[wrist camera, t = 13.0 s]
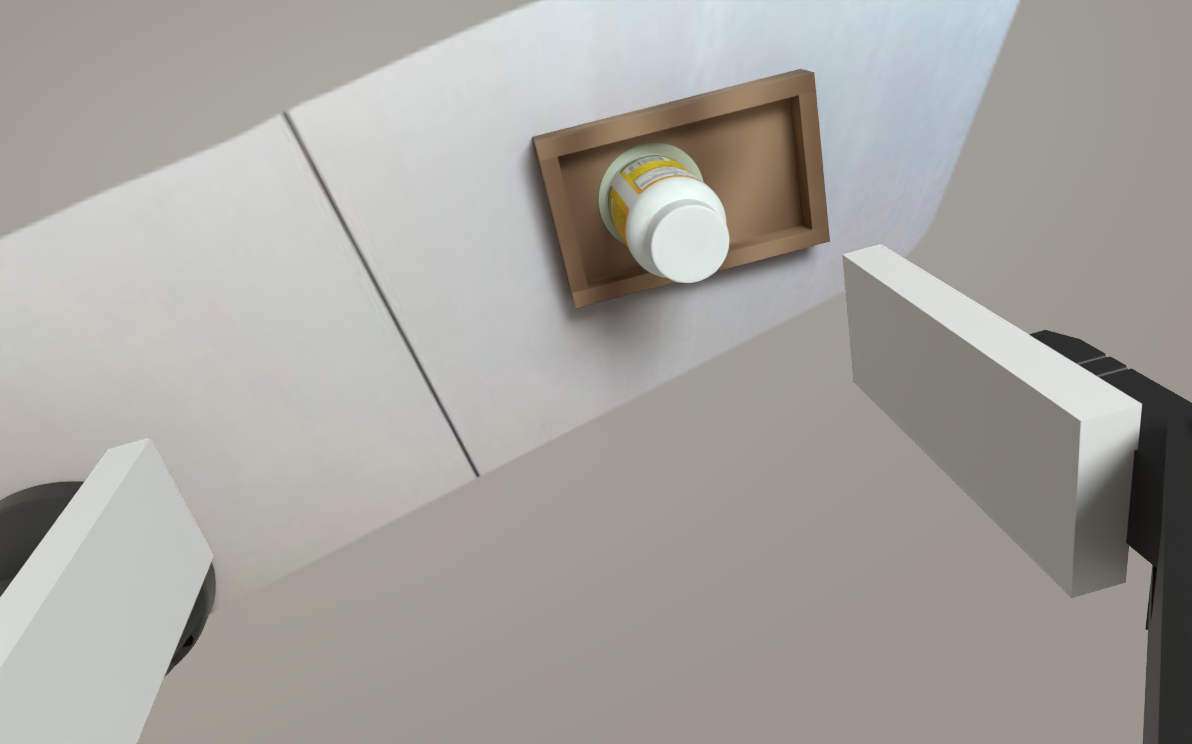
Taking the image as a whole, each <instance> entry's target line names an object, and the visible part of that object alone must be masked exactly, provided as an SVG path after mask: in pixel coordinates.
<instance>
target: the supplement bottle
mask: <svg viewBox="0 0 1192 744" xmlns="http://www.w3.org/2000/svg"><path fill="white" fill-rule="evenodd" d="M607 207H608V213H609V216H610V219H611V221H612V223H613V225H614V227H615V228H616V230H617V232H618V233H619V235H620V236H621V238H622V239H623V241H624V243H625V244H626V246H627V247H628V249H629V251H630V252H631V254H632V255H633V257H634V258H635V260H636V261H637V262H638V263H639V264H640V265H641V266H642V267H643V268H644V269H645V270H647V271H649V272H650V273H652V274H654V275H657V276H660V277H664V278H668V279H670V280H673V281H675V282H680V283H694V282H699V281H701V280H704V279H706V278H708V277H709V276H711V275H712V274H713V273H715V272H716V271H717V270H718V269H719V267H720V266H721V265H722V263H723V262H724V260H725V258H726V256H727V253H728V249H729V232H728V229H727V226H726V215H725V211H724V207H723V205H722V203H721V201H720V199H719V198H718V196H717V195H716V194H715V193H714V191H713V190H712V189H711V188H710V187H708V186H707V185H706V184H705V183H704V182H702V181H701V180H700V179H699V178H698V177H696V176H695V175H694V174H693V173H691V172H690V171H689V170H688V169H687V168H686V167H684V166H683V165H682V164H681V163H679V162H678V161H676V160H675V159H673V158H671V157H668V156H665V155H660V154H647V155H642V156H639V157H636V158H634V159H632V160H630V161H629V162H627V163H626V164H624V165H623V166H622V167H621V168H620V169H619V170H618V172H617V173H616V174H615V176H614V177H613V179H612V181H611V183H610V186H609V189H608V194H607Z"/></svg>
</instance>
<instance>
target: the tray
mask: <svg viewBox="0 0 1192 744" xmlns="http://www.w3.org/2000/svg"><path fill="white" fill-rule="evenodd" d="M533 142H534V146H535V150H536V154H537V158H538V162H539V166H540V170H541V174H542V178H543V182H544V186H545V190H546V194H547V198H548V202H549V206H550V211H551V215H552V219H553V223H554V227H555V231H556V235H557V239H558V243H559V247H560V251H561V255H562V259H563V263H564V267H565V271H566V275H567V279H568V284H569V288H570V292H571V296H572V299H573V301H574V304H575V307H576V308H580V307H584V306H587V305H591V304H595V303H599V302H603V301H606V300H610V299H614V298H618V297H621V296H625V295H629V294H633V293H637V292H640V291H644V290H648V289H652V288H655V287H659V286H663V285H667V284H671V283H674V282H675V281H673V280H670V279H668V278H664V277H660V276H657V275H654V274H652V273H650V272H649V271H647V270H645V269H644V268H643V267H642V266H641V265H640V264H639V263H638V262H637V261H636V260H635V258H634V257H633V255H632V254H631V252H630V251H629V249H628V247H627V246H626V244H625V243H624V241H623V239H622V238H621V236H620V235H619V233H618V232H617V230H616V228H615V227H614V225H613V223H612V221H611V219H610V216H609V213H608V207H607V194H608V189H609V186H610V183H611V181H612V179H613V177H614V176H615V174H616V173H617V172H618V170H619V169H620V168H621V167H622V166H623V165H624V164H626V163H627V162H629V161H630V160H632V159H634V158H636V157H639V156H642V155H647V154H660V155H665V156H668V157H671V158H673V159H675V160H676V161H678V162H679V163H681V164H682V165H683V166H684V167H686V168H687V169H688V170H689V171H690V172H691V173H693V174H694V175H695V176H696V177H698V178H699V179H700V180H701V181H702V182H704V183H705V184H706V185H707V186H708V187H710V188H711V189H712V190H713V191H714V193H715V194H716V195H717V196H718V198H719V199H720V201H721V203H722V205H723V207H724V211H725V215H726V226H727V229H728V232H729V249H728V253H727V256H726V258H725V260H724V262H723V263H722V265H721V266H720V267H719V269H718V270H717V271H720V270H724V269H727V268H731V267H735V266H739V265H743V264H746V263H750V262H754V261H758V260H761V259H765V258H769V257H773V256H777V255H780V254H784V253H788V252H792V251H796V250H799V249H803V248H807V247H811V246H814V245H818V244H822V243H826V242H830V238H829V227H828V216H827V206H826V195H825V184H824V173H823V162H822V152H821V141H820V130H819V119H818V109H817V98H816V87H815V76H814V72H810V71H806V70H802V69H799V70H795V71H791V72H787V73H783V74H779V75H775V76H771V77H767V78H763V79H759V80H756V81H752V82H748V83H744V84H740V85H736V86H732V87H728V88H724V89H720V90H716V91H712V92H708V93H704V94H700V95H696V96H692V97H688V98H685V99H681V100H677V101H673V102H669V103H665V104H661V105H657V106H653V107H649V108H645V109H641V110H637V111H633V112H629V113H625V114H621V115H617V116H613V117H610V118H606V119H602V120H598V121H594V122H590V123H586V124H582V125H578V126H574V127H570V128H566V129H562V130H558V131H554V132H550V133H546V134H542V135H539V136H535V137H533Z"/></svg>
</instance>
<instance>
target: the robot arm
mask: <svg viewBox="0 0 1192 744" xmlns="http://www.w3.org/2000/svg"><path fill="white" fill-rule="evenodd" d="M843 267H844V278H845V290H846V301H847V313H848V325H849V336H850V347H851V359H852V371H853V381H854V383H855V384H856V385H857V386H858V387H859V388H860V389H861V390H863V392H864V393H865V394H866V395H867V396H868V397H869V398H870V399H871V400H872V401H874V403H876V405H877V406H879V407H880V409H882V410H883V411H884V412H885V413H886V414H887V415H888V416H889V417H890V418H891V419H892V420H893V421H894V422H895V423H896V424H897V425H898V426H899V427H900V428H901V429H902V430H903V431H904V432H905V433H906V434H907V435H908V436H909V437H910V438H911V439H912V440H913V441H914V442H915V443H916V444H917V445H918V446H919V447H920V448H921V449H922V450H923V451H924V452H925V453H926V454H927V455H928V456H929V457H930V458H931V459H932V460H933V461H934V462H935V463H936V464H937V465H938V466H939V467H940V468H941V469H942V470H943V471H944V472H945V473H946V474H947V475H948V476H949V477H950V478H951V479H952V480H953V481H954V482H955V483H956V484H957V485H958V486H959V487H960V488H961V489H962V490H963V491H964V492H965V493H966V494H967V495H968V496H969V497H970V498H971V499H972V500H973V501H974V502H975V503H976V504H977V505H978V506H979V507H980V508H981V509H982V510H983V511H984V512H985V513H986V514H987V515H988V516H989V517H990V518H991V519H992V520H993V521H994V522H995V523H996V524H997V525H998V526H999V527H1000V528H1001V529H1002V530H1003V531H1004V532H1005V533H1006V534H1007V535H1008V536H1009V537H1010V538H1011V539H1012V540H1013V541H1014V542H1016V544H1017V545H1018V546H1020V548H1021V549H1022V550H1023V551H1024V552H1025V553H1026V554H1028V555H1029V557H1030V558H1031V559H1032V560H1033V561H1034V562H1035V563H1036V564H1038V565H1039V566H1040V567H1041V569H1043V570H1044V572H1046V574H1047V575H1049V576H1050V577H1051V579H1053V581H1054V582H1056V584H1058V585H1059V586H1060V587H1061V588H1062V589H1063V590H1064V591H1065V592H1066V593H1067V594H1068V595H1069V596H1070V597H1071V598H1073V597H1076V596H1080V595H1084V594H1087V593H1090V592H1094V591H1097V590H1101V589H1104V588H1108V587H1111V586H1115V585H1118V584H1122V583H1125V582H1126V572H1127V562H1128V551H1129V546H1131V547H1132V548H1133V549H1134V550H1135V551H1137V552H1138V553H1139V554H1140V555H1141V556H1143V557H1144V558H1145V559H1146V560H1147V561H1149V562H1150V563H1151V564H1152V565H1153V566H1152V575H1151V585H1150V593H1149V603H1148V612H1147V621H1146V630H1148V645H1147V667H1146V687H1145V708H1144V729H1143V744H1192V403H1191V402H1189V401H1188V400H1186V399H1184V398H1182V397H1181V396H1179V395H1177V394H1175V393H1174V392H1172V391H1170V390H1168V389H1166V388H1165V387H1163V386H1161V385H1160V384H1158V383H1156V382H1154V381H1152V380H1150V379H1149V378H1147V377H1145V376H1144V375H1142V374H1140V373H1138V372H1137V371H1135V370H1133V369H1127V368H1126V365H1124V364H1123V363H1121V362H1119V361H1117V360H1116V359H1114V358H1112V357H1106V355H1105V353H1103V352H1101V351H1100V350H1098V349H1096V348H1095V347H1093V346H1091V345H1089V344H1087V343H1085V342H1084V341H1082V340H1080V339H1077V338H1074V337H1070V336H1066V335H1062V334H1059V333H1055V332H1051V331H1048V330H1043V331H1040V332H1037V333H1032V334H1029V335H1028V334H1027V333H1025V332H1024V331H1022V330H1020V329H1019V328H1017V327H1015V326H1014V325H1012V324H1010V323H1009V322H1007V321H1006V320H1004V319H1002V318H1001V317H999V316H997V315H996V314H994V313H993V312H991V311H989V310H988V309H986V308H984V307H982V306H981V305H979V304H978V303H976V302H974V301H973V300H971V299H970V298H968V297H966V296H965V295H963V294H961V293H960V292H958V291H956V290H955V289H953V288H952V287H950V286H948V285H947V284H945V283H943V282H942V281H940V280H939V279H937V278H935V277H934V276H932V275H930V274H929V273H927V272H926V271H924V270H922V269H921V268H919V267H917V266H916V265H914V264H912V263H911V262H909V261H907V260H906V259H904V258H903V257H901V256H899V255H898V254H896V253H895V252H893V251H891V250H890V249H888V248H886V247H885V246H883V245H881V244H880V245H877V246H873V247H869V248H865V249H862V250H858V251H854V252H850V253H846V254H843ZM213 557H214V555H213V553H212V552H211V550H210V548H209V546H208V544H207V542H206V540H205V539H204V537H203V535H202V533H201V531H200V529H199V527H198V525H197V524H196V522H195V520H194V518H193V516H192V514H191V512H190V511H189V509H188V507H187V505H186V503H185V501H184V499H183V497H182V496H181V494H180V492H179V490H178V488H177V486H176V484H175V483H174V481H173V479H172V477H171V475H170V473H169V471H168V469H167V468H166V466H165V464H164V462H163V460H162V458H161V456H160V455H159V453H158V451H157V449H156V447H155V445H154V443H153V442H152V440H151V438H148V439H144V440H140V441H137V442H133V443H129V444H125V445H121V446H118V447H114V448H110V449H108V450H107V452H106V453H105V454H104V456H103V457H102V458H101V460H100V461H99V462H98V464H97V465H96V467H95V468H94V469H93V471H92V472H91V473H90V475H89V476H88V478H87V479H86V480H85V482H57V483H49V484H43V485H39V486H34V487H31V488H27V489H24V490H22V491H19V492H16V493H14V494H12V495H10V496H8V497H6V498H4V499H2V500H1V501H0V744H137V742H138V740H139V737H140V735H141V732H142V730H143V728H144V725H145V723H146V720H147V718H148V715H149V713H150V711H151V708H152V706H153V703H154V701H155V698H156V696H157V693H158V691H159V689H160V686H161V683H162V681H163V679H164V677H165V676H166V675H167V674H168V673H169V672H170V671H171V670H172V669H173V667H174V666H175V665H177V664H178V663H179V662H180V661H181V660H182V659H183V657H185V656H186V654H188V652H189V651H190V650H191V649H192V647H193V646H194V644H195V643H196V641H197V640H198V638H199V636H200V635H201V632H202V630H203V628H204V625H205V623H206V620H207V618H208V615H209V613H210V610H211V607H212V604H213V601H214V596H215V574H214V569H213V565H212V559H213Z"/></svg>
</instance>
